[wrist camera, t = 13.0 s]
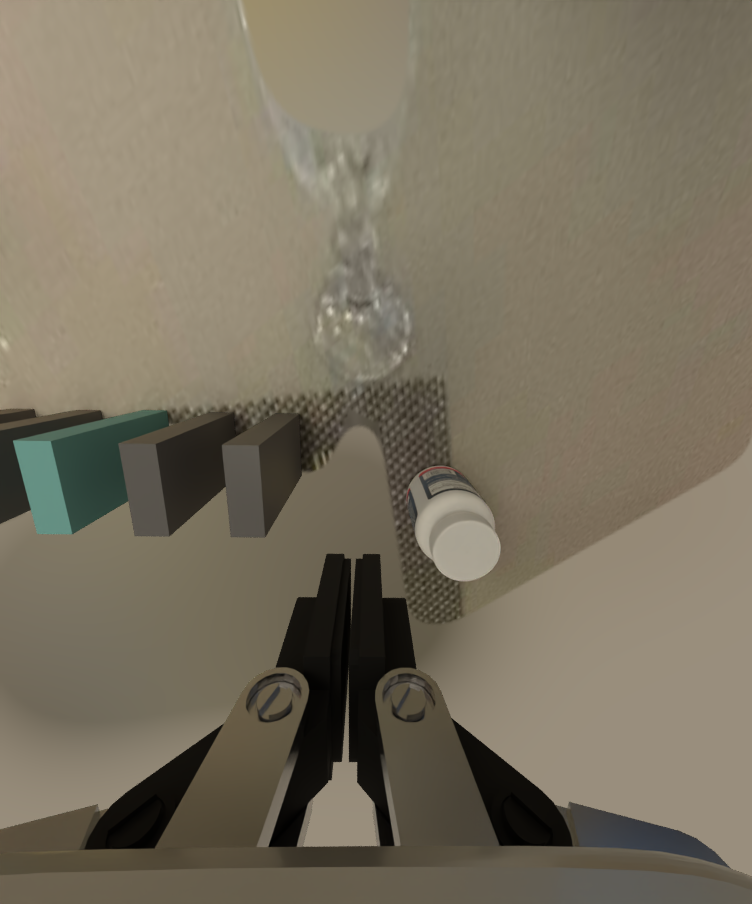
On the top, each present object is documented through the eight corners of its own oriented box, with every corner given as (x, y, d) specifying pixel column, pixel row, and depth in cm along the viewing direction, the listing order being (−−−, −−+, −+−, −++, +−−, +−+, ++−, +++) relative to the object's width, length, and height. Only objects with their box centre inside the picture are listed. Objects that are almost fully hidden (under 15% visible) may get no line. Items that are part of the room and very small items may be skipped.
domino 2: (166, 410, 27) (50, 441, 17) (175, 472, 28) (72, 534, 18) (142, 410, 27) (12, 440, 17) (152, 472, 28) (37, 533, 18)
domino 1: (100, 410, 27) (-53, 441, 17) (112, 472, 28) (-24, 534, 18) (76, 409, 27) (-92, 440, 17) (89, 472, 28) (-60, 534, 18)
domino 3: (233, 412, 27) (155, 444, 17) (238, 474, 28) (169, 536, 18) (209, 412, 27) (118, 443, 17) (216, 474, 28) (134, 536, 18)
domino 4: (299, 413, 27) (258, 445, 17) (301, 475, 28) (265, 537, 18) (275, 413, 27) (221, 445, 17) (279, 475, 28) (230, 537, 18)
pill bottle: (443, 535, 30) (473, 607, 21) (393, 503, 29) (402, 564, 20) (483, 486, 29) (530, 541, 20) (431, 451, 28) (458, 493, 19)
